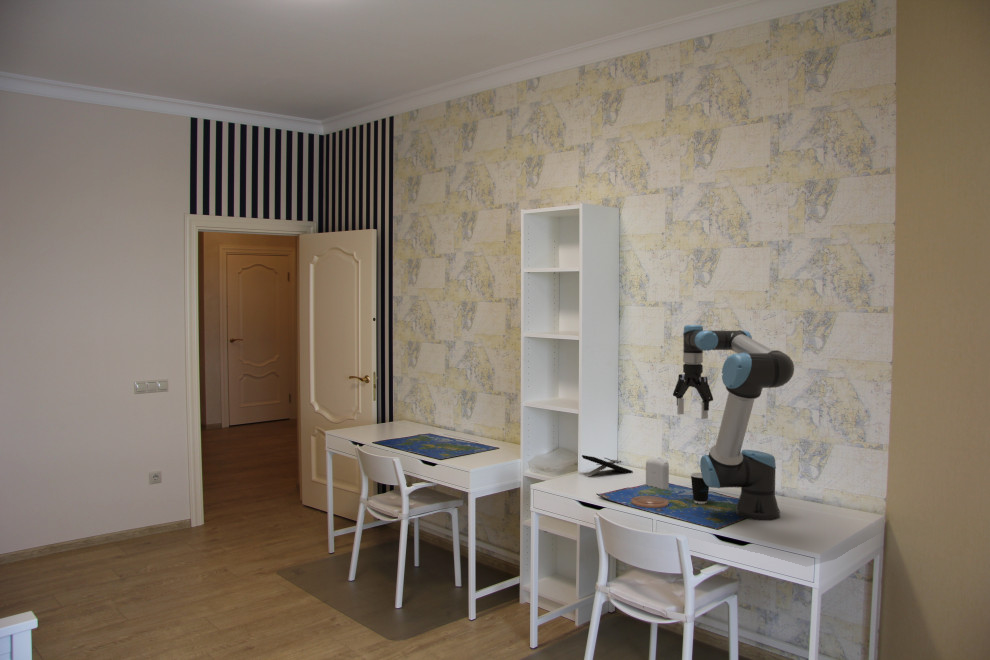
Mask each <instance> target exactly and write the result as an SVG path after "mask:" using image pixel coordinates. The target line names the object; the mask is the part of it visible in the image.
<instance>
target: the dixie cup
mask: <svg viewBox="0 0 990 660" xmlns="http://www.w3.org/2000/svg"><path fill="white" fill-rule="evenodd" d="M690 478H691V489H692V491H691V492H692V499H693V503H694V504H697V503H698V504H699V505H705V503H706V504H707V502H708V499H709V491H710V490H709V489H710V487H708V486H707V485H706V484H705V482H704V480H703V477H702V474H701V472H693V473H690Z"/></svg>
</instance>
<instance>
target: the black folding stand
mask: <svg viewBox="0 0 990 660" xmlns="http://www.w3.org/2000/svg"><path fill="white" fill-rule="evenodd" d="M581 457H582V459H584V460H587V461H590V462H592V463H596V466H598V467H596V468H595V469H592V470H591V471H589V472H587V473H586V474H587V476H586V477H593V476H594V475H596V474H598V473H600V471H603V470H605V469H607V468H609V469H613V470H615V471H618V472H620V473H624V474H633V473H634V472H633V470H631V469H629V468H626V467H623V466H620V465H618V464H619V463H622V461H621V460H619V459H610V458H607V457H604V459H606V460H608V461H606V460H604V459H601V458H598V457H595V456H591V455H585V454H583V455H581Z"/></svg>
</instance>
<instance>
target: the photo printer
mask: <svg viewBox="0 0 990 660" xmlns="http://www.w3.org/2000/svg"><path fill="white" fill-rule="evenodd" d="M669 475H670V465H669V462H668V461H666V460H665V459H663V458H659V457H651V458H647V459H646V461H645V485H646V486H647V485H648V487H651V486H653V487H652V488H655V487H657V488H656V489H659V488H660V489H659V490H668V489H669V487H670V484H669V482H670V480H669V479H670V476H669Z"/></svg>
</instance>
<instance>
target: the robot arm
mask: <svg viewBox="0 0 990 660" xmlns="http://www.w3.org/2000/svg"><path fill="white" fill-rule="evenodd" d="M682 336H683V341H682V343H683V351H682V352H683V353H682V354H683V356H682V357H683V358H682V362H683V365H682V370H683V371H682V372H683V373H682V374H678V377H677V382H676V383H675V384H676V385H675V387H674V390H673V393H672V395H673V397H675V398H676V406H677V408H676V409H677V411H676V414H677V415H684V414H685V413H684V412H685V411H684V410H685V409H684V407H685V406H684V405H685V398H684V395H685V394H686V392H687V391H688V389H689V388H694V389H696V391H697V393H698V394H699V397H700V398H701V400H702V402H701V407H700V409H701V412H700V419H702V420H707V419H708V418H709V410H710V402H713V401H714V398H713V394H712V391H711V388H710V385H709V379H708V377H707V376H702V373H703V367H704V366H703V364H702V363H703V360H704V359H703V358H704V357H703V356H704V355H703V354H704V351H707V352H709V351H732V352H734V353H732V354H731V355H729V356H728V357H726V359H725V361H723V362H724V363H723V366H722V369H721V374H722V375H721V379H722V383H723V385H724V386H725V389H726V391H727V392H728V394H727V398H726V403H725V407H724V411H723V414H722V418H721V423H720V426H719V430H718V434H717V438H716V442H715V445H713V446H711V447H710V449H709V453H708V454H704V455H702V456H701V457H700V460H699V462H700V463H699V464H700V465H699V466H700V467H699V468H700V473H701V474H702V477H703V480H704V482H705V484H706V485H707V486H708V487H709V488H713V489H714V488H715V489H724V488H725V489H726V488H740V489H741V490H740V495H739V498H738V501H737V504H736V506H735V514H736V515H737V516H739V517H740V518H744V519H748V520H752V521H775V520H778V519H780V517H781V511H780V508H779V504H778V501H777V498H776V469H777V467H776V459H775V456H774V455H773V454H770V453H768V452H763V451H759V450H752V449H742V447H743V443H744V441H745V437H746V432H747V429H748V425H749V422H750V421H749V420H750V419H751V418H750V417H751V414H752V409H753V407H754V403H755V400H756V399H759V398H760V397H761V394H762V392H763V389H770V388H773V389H774V388H779V387H782V386H784V385H786V384H787V383H788V382H790V381H791V379H792V378H793V375H794V372H795V364H794V361H793V360H792V358H791V357H790V356H789V355H788V354H786V353H785V352H783V351H781V350H777V349H776V350H775V349H774V350H772V349H771V348H770V347H768V346H765V345H764V344H762V343H760V342H758V341H756V340H755V339H753V337H752V335H751V333H750V332H749V331H747V330H740V329H739V330H704V327H703V325H701V324H700V325H699V324H686V325H684V326H683V332H682Z"/></svg>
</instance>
